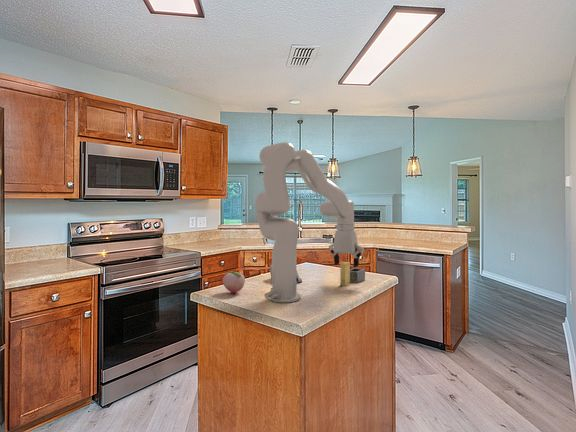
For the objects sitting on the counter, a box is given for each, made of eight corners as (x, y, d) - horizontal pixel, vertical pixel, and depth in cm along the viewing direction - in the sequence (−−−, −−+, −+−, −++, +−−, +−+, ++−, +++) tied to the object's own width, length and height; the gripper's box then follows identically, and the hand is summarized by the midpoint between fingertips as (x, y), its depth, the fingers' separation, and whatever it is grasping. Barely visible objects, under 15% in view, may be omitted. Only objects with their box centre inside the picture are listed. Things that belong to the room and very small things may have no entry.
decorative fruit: (249, 292, 141) (249, 268, 141) (237, 297, 134) (236, 272, 134) (232, 289, 146) (231, 266, 145) (219, 293, 139) (218, 269, 138)
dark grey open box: (357, 283, 156) (357, 272, 155) (345, 281, 159) (345, 270, 159) (365, 279, 162) (365, 269, 162) (353, 278, 166) (353, 267, 165)
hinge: (303, 282, 158) (298, 263, 155) (296, 287, 154) (291, 268, 152) (278, 276, 169) (273, 258, 166) (271, 281, 166) (266, 263, 163)
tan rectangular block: (345, 286, 150) (345, 263, 150) (340, 285, 152) (340, 263, 151) (349, 284, 154) (349, 262, 153) (345, 283, 155) (345, 261, 155)
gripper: (324, 227, 154) (325, 264, 155) (359, 229, 143) (359, 269, 144) (333, 226, 160) (334, 262, 161) (367, 227, 149) (367, 266, 150)
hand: (346, 265), depth 153 cm, fingers open, 9 cm apart
